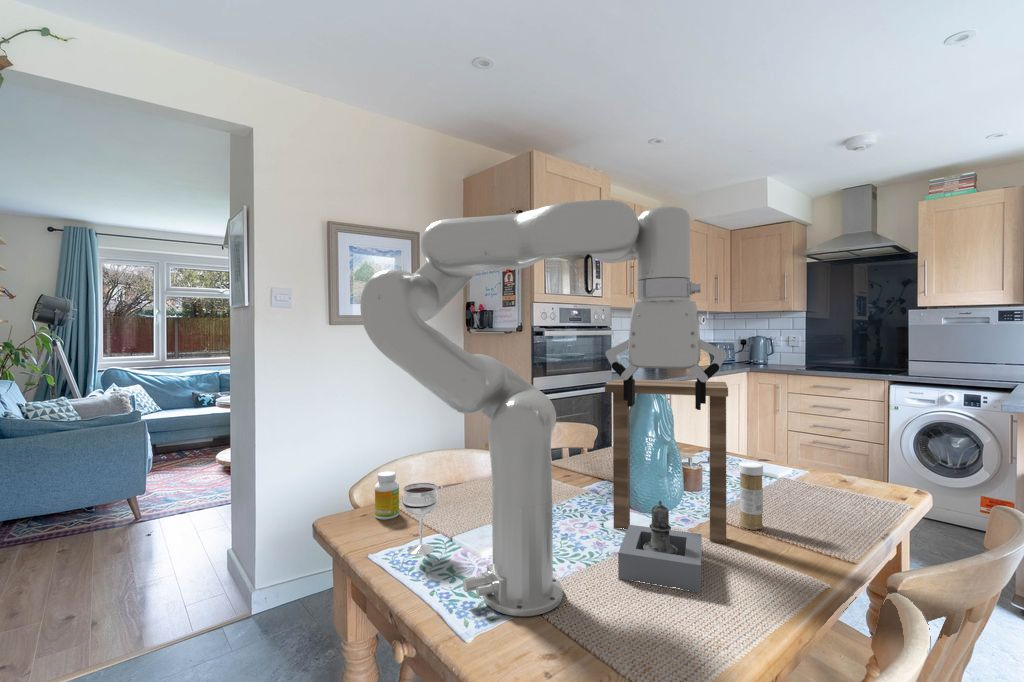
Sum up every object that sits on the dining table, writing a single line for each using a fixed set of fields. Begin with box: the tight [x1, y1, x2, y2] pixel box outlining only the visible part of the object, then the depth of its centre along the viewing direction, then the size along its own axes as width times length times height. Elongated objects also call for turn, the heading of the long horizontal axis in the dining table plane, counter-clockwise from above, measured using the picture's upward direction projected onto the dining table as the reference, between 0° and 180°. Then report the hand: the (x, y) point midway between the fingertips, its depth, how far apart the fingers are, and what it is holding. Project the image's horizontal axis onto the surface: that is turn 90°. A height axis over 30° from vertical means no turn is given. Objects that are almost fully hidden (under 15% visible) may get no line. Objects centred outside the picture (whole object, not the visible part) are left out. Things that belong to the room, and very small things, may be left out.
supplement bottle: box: [374, 471, 400, 520], centre depth 112 cm, size 5×5×10 cm
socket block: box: [617, 524, 703, 594], centre depth 86 cm, size 13×13×4 cm
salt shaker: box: [643, 500, 678, 555], centre depth 86 cm, size 6×6×12 cm
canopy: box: [604, 378, 729, 545], centre depth 97 cm, size 12×22×32 cm, turn 68°
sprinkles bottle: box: [738, 461, 764, 531], centre depth 104 cm, size 5×5×14 cm
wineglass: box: [402, 482, 439, 557], centre depth 94 cm, size 7×7×12 cm
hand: (663, 407), depth 73 cm, fingers open, 9 cm apart
